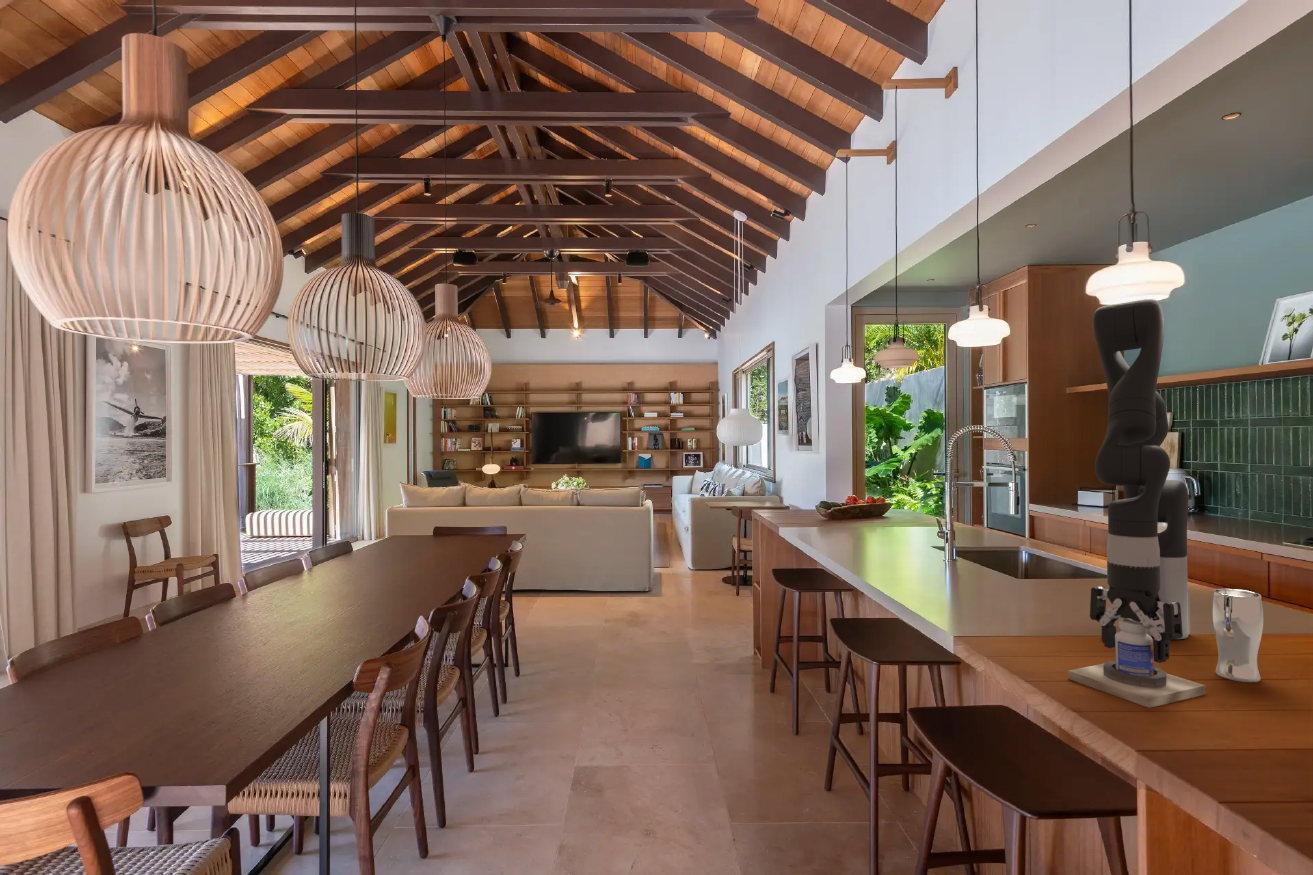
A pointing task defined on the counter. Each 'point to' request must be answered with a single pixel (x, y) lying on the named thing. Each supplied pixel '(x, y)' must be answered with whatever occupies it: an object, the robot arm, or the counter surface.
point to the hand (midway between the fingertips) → (1134, 654)
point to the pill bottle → (1133, 649)
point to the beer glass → (1237, 633)
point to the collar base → (1138, 692)
